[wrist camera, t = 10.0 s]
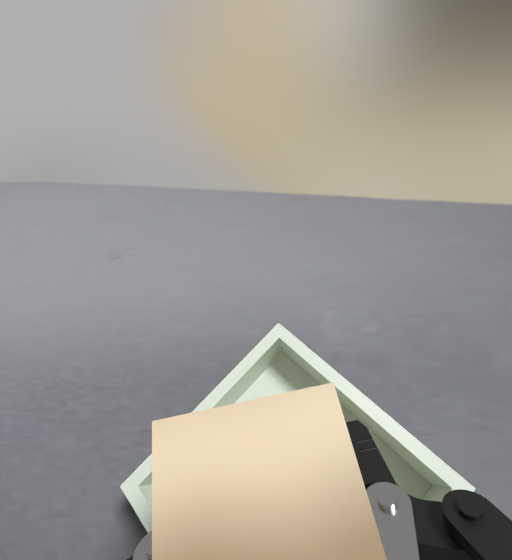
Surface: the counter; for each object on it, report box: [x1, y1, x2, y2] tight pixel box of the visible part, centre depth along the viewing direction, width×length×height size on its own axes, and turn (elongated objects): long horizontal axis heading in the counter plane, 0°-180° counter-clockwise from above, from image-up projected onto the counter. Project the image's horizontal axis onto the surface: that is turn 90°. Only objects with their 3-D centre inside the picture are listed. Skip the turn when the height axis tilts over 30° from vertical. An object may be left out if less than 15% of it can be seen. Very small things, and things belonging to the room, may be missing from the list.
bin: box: [120, 323, 475, 533], centre depth 17 cm, size 12×12×4 cm
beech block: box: [152, 382, 387, 560], centre depth 12 cm, size 5×5×11 cm
